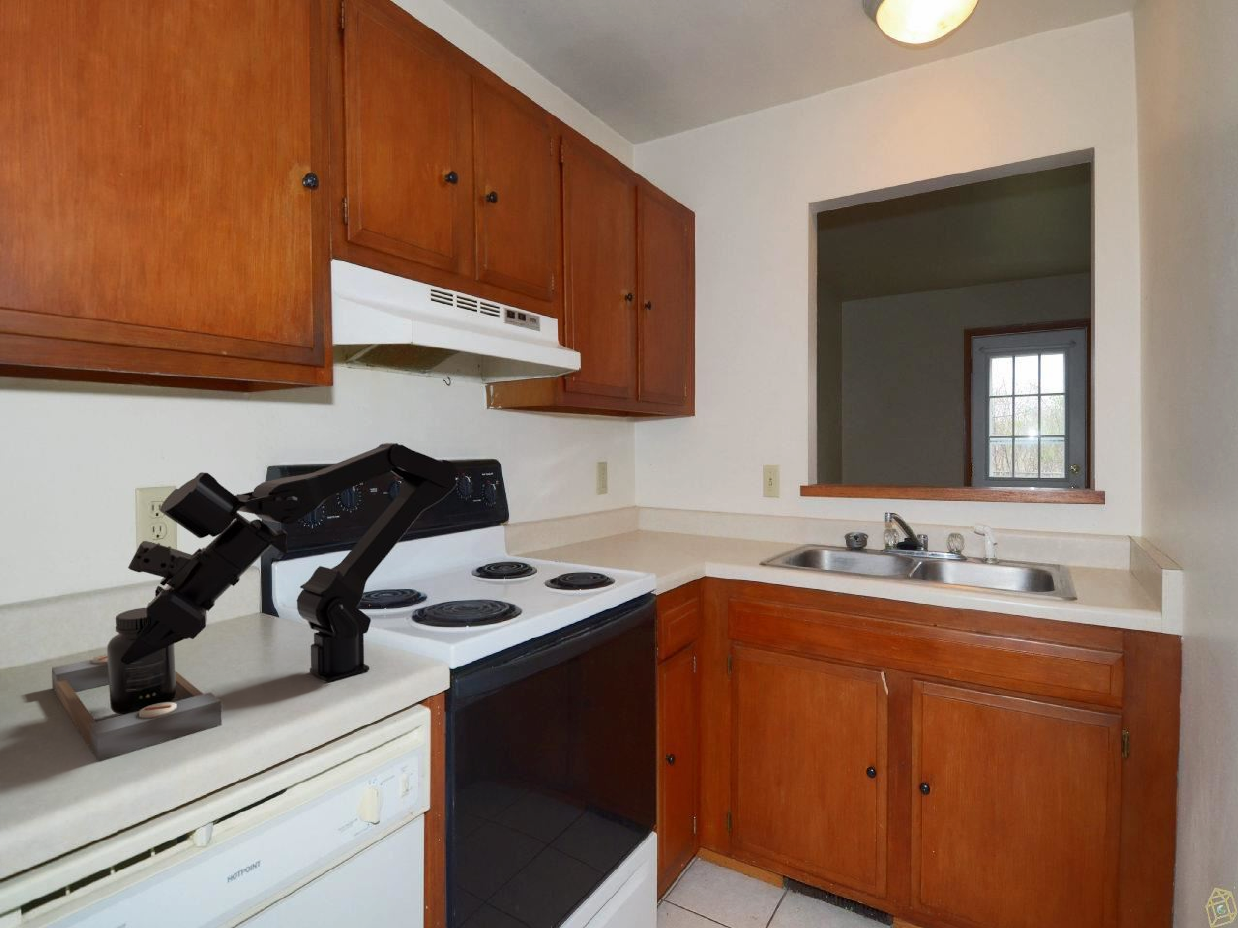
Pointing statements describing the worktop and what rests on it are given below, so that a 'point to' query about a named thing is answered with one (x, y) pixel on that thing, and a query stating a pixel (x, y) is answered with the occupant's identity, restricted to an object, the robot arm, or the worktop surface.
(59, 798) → the worktop surface
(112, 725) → the wooden frame
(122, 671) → the supplement bottle
